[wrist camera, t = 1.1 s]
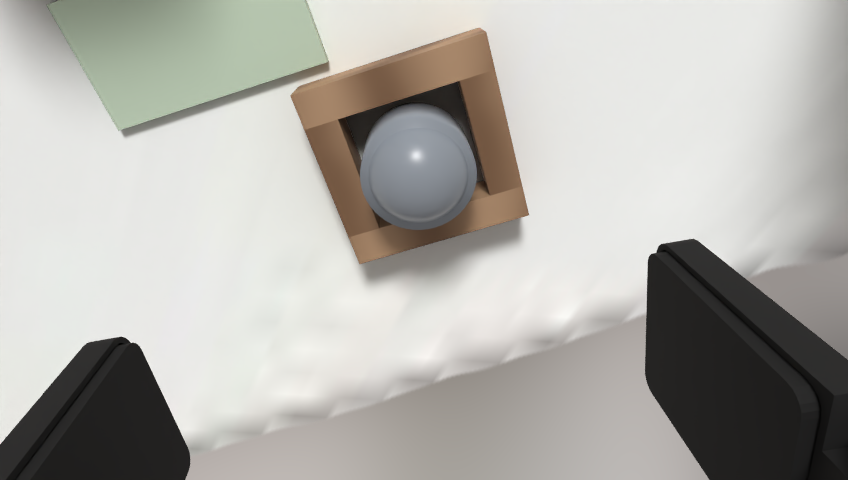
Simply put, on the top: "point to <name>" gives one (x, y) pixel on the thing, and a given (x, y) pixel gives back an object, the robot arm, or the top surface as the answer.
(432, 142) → the dome
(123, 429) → the robot arm
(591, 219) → the top surface
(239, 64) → the pad
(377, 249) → the frame
